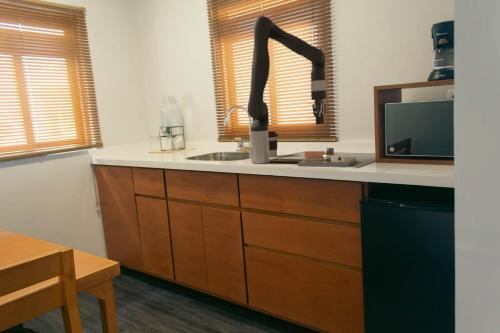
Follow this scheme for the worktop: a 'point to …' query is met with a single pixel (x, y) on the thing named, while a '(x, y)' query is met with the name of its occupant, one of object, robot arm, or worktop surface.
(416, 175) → the worktop surface
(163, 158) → the worktop surface
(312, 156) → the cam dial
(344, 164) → the stand base
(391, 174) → the worktop surface
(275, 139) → the coffee cup
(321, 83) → the robot arm
